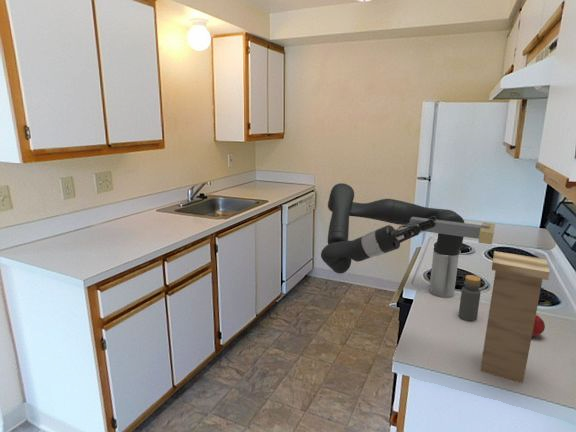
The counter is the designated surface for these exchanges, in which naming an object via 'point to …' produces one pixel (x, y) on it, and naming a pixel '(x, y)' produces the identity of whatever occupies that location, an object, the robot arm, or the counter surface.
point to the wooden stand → (512, 314)
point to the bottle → (470, 298)
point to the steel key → (460, 229)
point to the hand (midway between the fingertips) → (435, 220)
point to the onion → (538, 326)
